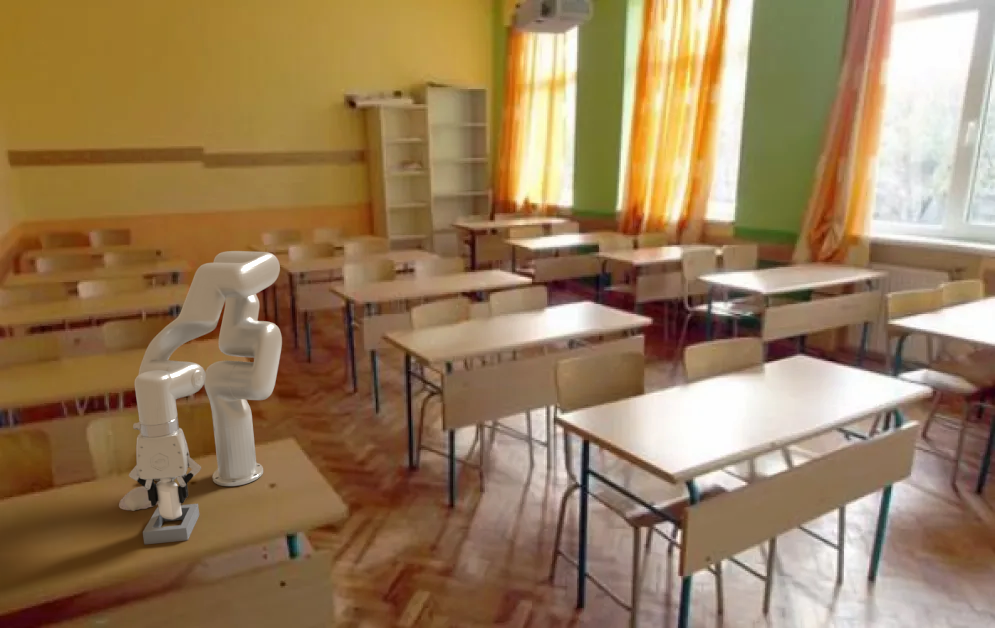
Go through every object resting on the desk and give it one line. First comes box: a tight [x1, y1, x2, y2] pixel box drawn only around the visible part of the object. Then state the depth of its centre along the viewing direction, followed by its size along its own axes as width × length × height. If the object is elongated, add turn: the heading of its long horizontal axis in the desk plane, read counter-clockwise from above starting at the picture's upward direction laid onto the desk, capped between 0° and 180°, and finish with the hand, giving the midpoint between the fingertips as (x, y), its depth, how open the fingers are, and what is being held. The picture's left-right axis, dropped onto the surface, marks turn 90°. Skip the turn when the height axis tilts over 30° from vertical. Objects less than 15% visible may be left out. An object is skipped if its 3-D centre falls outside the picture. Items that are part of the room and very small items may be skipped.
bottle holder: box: [142, 503, 200, 545], centre depth 159 cm, size 11×9×3 cm
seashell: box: [118, 485, 158, 512], centre depth 171 cm, size 10×6×10 cm
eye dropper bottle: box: [155, 478, 182, 520], centre depth 157 cm, size 4×6×12 cm
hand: (169, 501), depth 157 cm, fingers closed on eye dropper bottle, 5 cm apart
